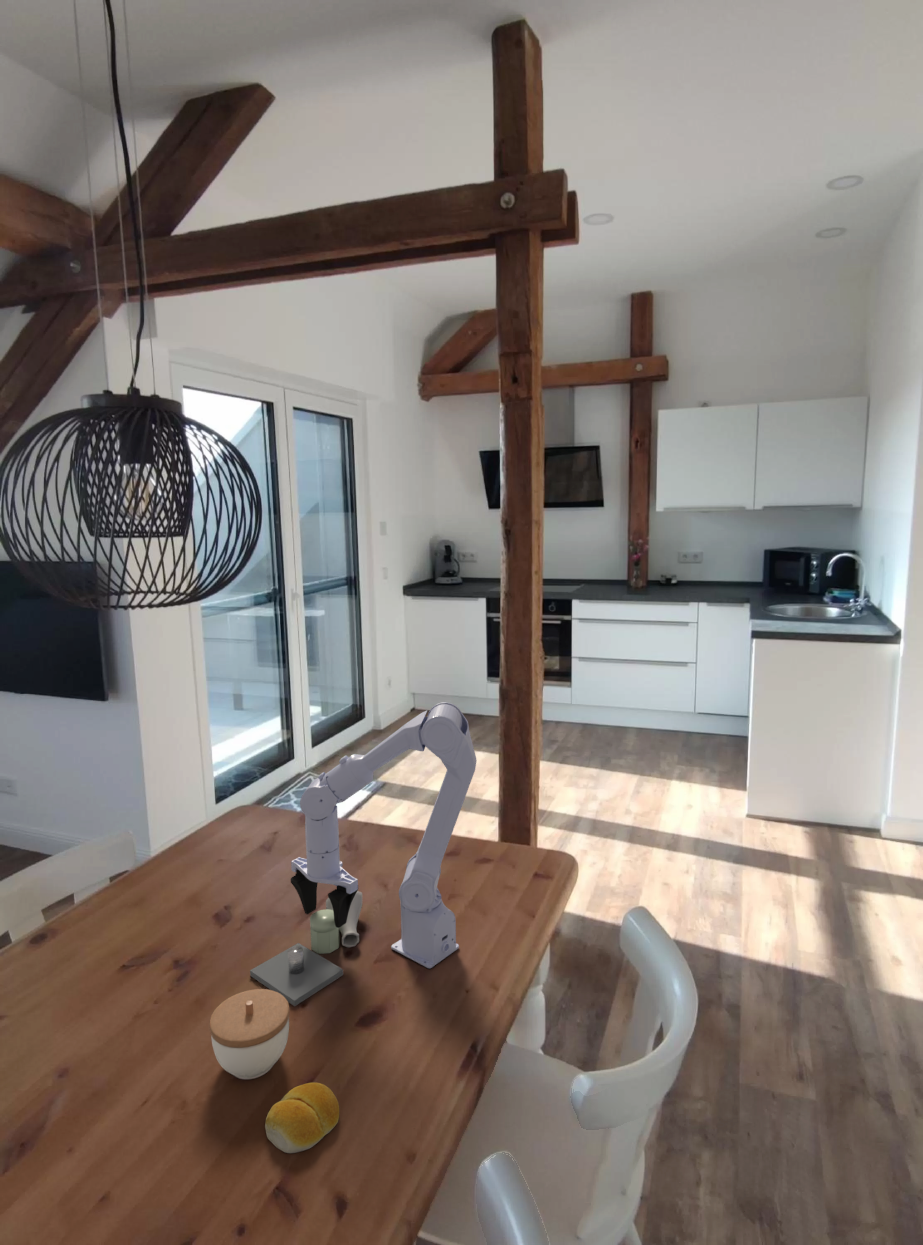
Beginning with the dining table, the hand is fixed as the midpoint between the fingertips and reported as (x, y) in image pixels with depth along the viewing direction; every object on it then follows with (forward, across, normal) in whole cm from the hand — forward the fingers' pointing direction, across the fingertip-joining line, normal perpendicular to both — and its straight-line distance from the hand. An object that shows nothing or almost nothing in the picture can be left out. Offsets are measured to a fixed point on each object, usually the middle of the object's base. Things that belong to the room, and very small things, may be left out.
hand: (325, 918), depth 129 cm
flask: (+2, +3, -8) cm, 9 cm away
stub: (+5, -2, +9) cm, 11 cm away
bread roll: (+5, -25, +30) cm, 39 cm away
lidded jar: (+5, -12, +26) cm, 29 cm away
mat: (+5, -2, +9) cm, 11 cm away
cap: (+5, 0, 0) cm, 5 cm away
